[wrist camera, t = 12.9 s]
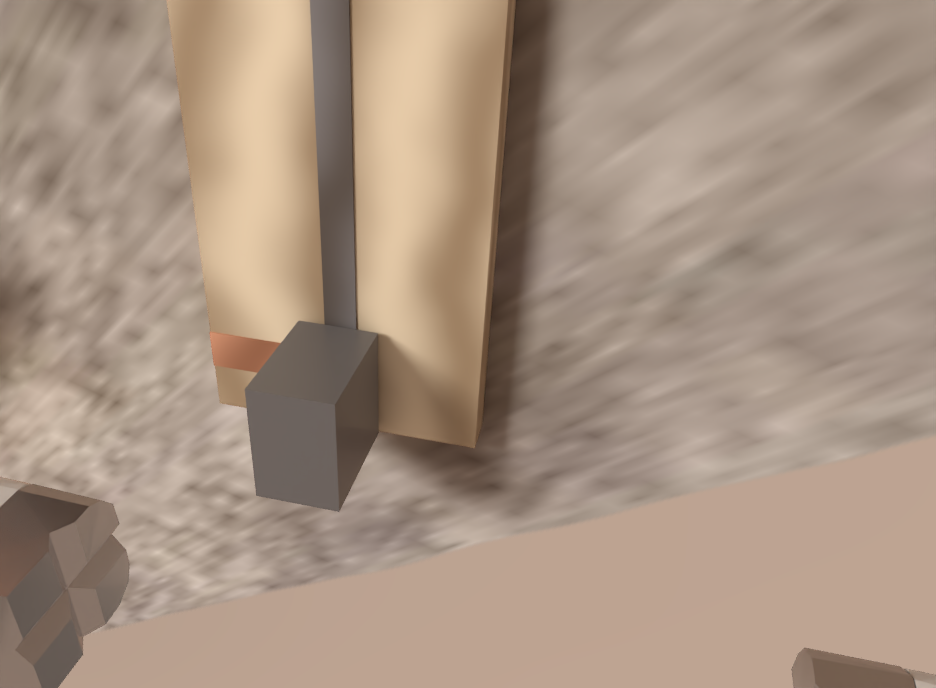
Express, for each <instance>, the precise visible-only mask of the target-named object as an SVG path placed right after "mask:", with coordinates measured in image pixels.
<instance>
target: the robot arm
mask: <svg viewBox="0 0 936 688" xmlns="http://www.w3.org/2000/svg"><path fill="white" fill-rule="evenodd" d="M118 525H119V521H118V518H117V515H116V512H115V509H114V506H113V504H111V503H108V502H104V501H101V500H97V499H93V498H89V497H85V496H81V495H76V494H72V493H68V492H64V491H60V490H56V489H52V488H47V487H43V486H39V485H35V484H30V483H25V482H21V481H16V480H12V479H8V478H3V477H0V688H58V687H59V686H60V684H61V683H62V682H63V680H64V679H65V678H66V676H67V675H68V674H69V672H70V671H71V670H72V668H73V667H74V665H75V664H76V663H77V662H78V660H79V659H80V658H81V656H82V655H83V636H85V635H87V634H89V633H91V632H92V631H94V630H96V629H98V628H100V627H102V626H103V625H105V624H106V623H107V622H108V620H109V619H110V618H111V616H112V615H113V613H114V612H115V611H116V609H117V608H118V606H119V605H120V603H121V600H122V597H123V595H124V592H125V589H126V587H127V584H128V581H129V560H128V556H127V552H126V549H125V548H124V547H123V546H122V545H121V544H120V543H119V542H118V541H117V539H116V538H115V537H114V536H113V535H112V533H113V532H114V530H115V529H116V528H117V526H118ZM792 677H793V686H794V688H936V675H934V674H929V673H925V672H920V671H915V670H910V669H903V668H901V667H899V666H894V665H889V664H884V663H879V662H874V661H869V660H864V659H859V658H854V657H849V656H844V655H839V654H834V653H828V652H824V651H819V650H814V649H809V648H804V649H803V650H802V651H801V652H800V653H799V654H798V655H797V657H796V660H795V662H794V665H793V667H792Z"/></svg>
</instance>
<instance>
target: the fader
mask: <svg viewBox="0 0 936 688" xmlns="http://www.w3.org/2000/svg"><path fill="white" fill-rule="evenodd" d="M245 398H246V407H247V416H248V424H249V433H250V442H251V451H252V460H253V469H254V478H255V487H256V496H261V497H266V498H271V499H276V500H281V501H287V502H292V503H297V504H302V505H307V506H312V507H318V508H323V509H328V510H333V511H338V512H339V511H340V509H341V507H342V505H343V503H344V501H345V499H346V497H347V495H348V493H349V491H350V489H351V487H352V485H353V483H354V481H355V479H356V477H357V475H358V473H359V471H360V469H361V467H362V465H363V463H364V461H365V459H366V457H367V455H368V453H369V451H370V449H371V447H372V445H373V443H374V441H375V439H376V437H377V435H378V433H379V416H378V333H375V332H368V331H362V330H356V329H349V328H343V327H337V326H330V325H324V324H318V323H312V322H305V321H298V322H297V323H296V324H295V326H294V327H293V328H292V330H291V331H290V332H289V333H288V335H287V336H286V337H285V338H284V340H283V341H282V342H281V344H280V345H279V346H278V347H277V349H276V350H275V351H274V352H273V354H272V355H271V356H270V358H269V359H268V360H267V361H266V363H265V364H264V365H263V366H262V368H261V369H260V370H259V372H258V373H257V374H256V375H255V377H254V378H253V379H252V380H251V382H250V383H249V384H248V386H247V387H246V388H245Z"/></svg>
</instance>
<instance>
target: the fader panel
mask: <svg viewBox="0 0 936 688" xmlns="http://www.w3.org/2000/svg"><path fill="white" fill-rule="evenodd" d="M167 7H168V15H169V22H170V30H171V37H172V45H173V52H174V60H175V68H176V75H177V83H178V90H179V98H180V105H181V113H182V120H183V128H184V135H185V143H186V150H187V158H188V166H189V173H190V181H191V188H192V196H193V203H194V211H195V218H196V226H197V233H198V241H199V248H200V256H201V264H202V271H203V279H204V286H205V294H206V301H207V309H208V316H209V324H210V331H211V332H210V339H211V347H212V354H213V362H214V365H215V369H216V377H217V384H218V392H219V399H220V403H222V404H228V405H234V406H239V407H245V408H247V407H246V398H245V388H246V387H247V386H248V384H249V383H250V382H251V380H252V379H253V378H254V377H255V375H256V374H257V373H258V372H259V370H260V369H261V368H262V366H263V365H264V364H265V363H266V361H267V360H268V359H269V358H270V356H271V355H272V354H273V352H274V351H275V350H276V349H277V347H278V346H279V345H280V344H281V342H282V341H283V340H284V338H285V337H286V336H287V335H288V333H289V332H290V331H291V330H292V328H293V327H294V326H295V324H296V323H297V322H298V321H305V322H312V323H318V324H324V325H330V326H337V327H343V328H349V329H356V330H362V331H368V332H375V333H378V416H379V431H380V432H386V433H392V434H397V435H403V436H409V437H414V438H420V439H426V440H431V441H437V442H443V443H448V444H454V445H460V446H465V447H471V448H475V446H476V443H477V440H478V436H479V433H480V430H481V427H482V421H483V408H484V396H485V383H486V371H487V358H488V346H489V333H490V321H491V308H492V296H493V283H494V271H495V258H496V245H497V233H498V220H499V208H500V195H501V183H502V170H503V158H504V145H505V133H506V120H507V107H508V95H509V82H510V70H511V57H512V45H513V32H514V20H515V7H516V0H167Z"/></svg>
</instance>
